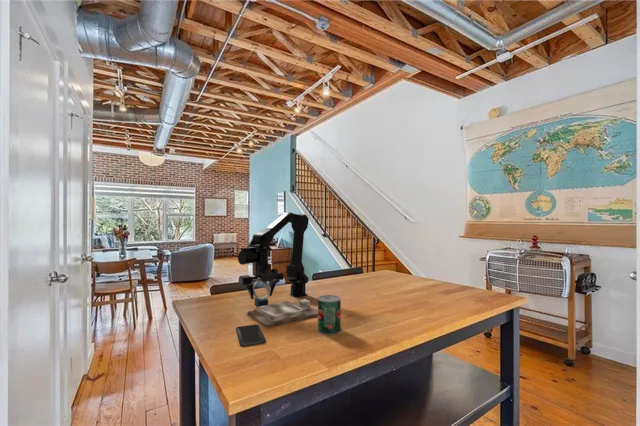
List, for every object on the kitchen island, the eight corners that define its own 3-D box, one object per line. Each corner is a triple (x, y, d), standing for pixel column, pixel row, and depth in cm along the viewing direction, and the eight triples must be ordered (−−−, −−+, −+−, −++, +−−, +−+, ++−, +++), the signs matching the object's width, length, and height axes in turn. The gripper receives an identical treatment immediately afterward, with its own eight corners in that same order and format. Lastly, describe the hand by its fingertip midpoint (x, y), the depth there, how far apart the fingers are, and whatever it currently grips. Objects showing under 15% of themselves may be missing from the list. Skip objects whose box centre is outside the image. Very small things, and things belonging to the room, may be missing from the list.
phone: (240, 344, 90) (235, 326, 104) (240, 348, 90) (235, 330, 104) (266, 340, 93) (258, 324, 107) (266, 344, 93) (258, 327, 107)
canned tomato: (345, 332, 101) (345, 299, 102) (325, 336, 98) (325, 302, 98) (332, 324, 108) (332, 294, 108) (313, 328, 104) (313, 297, 105)
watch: (272, 306, 130) (272, 280, 130) (254, 309, 126) (254, 282, 126) (268, 302, 135) (268, 278, 135) (250, 305, 131) (250, 280, 131)
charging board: (299, 303, 133) (299, 294, 133) (322, 315, 119) (322, 304, 119) (247, 314, 120) (247, 304, 120) (266, 328, 105) (266, 316, 105)
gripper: (247, 266, 119) (247, 306, 119) (289, 262, 129) (289, 298, 129) (238, 262, 128) (238, 299, 128) (277, 259, 139) (277, 292, 139)
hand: (261, 297), depth 131 cm, fingers open, 8 cm apart
